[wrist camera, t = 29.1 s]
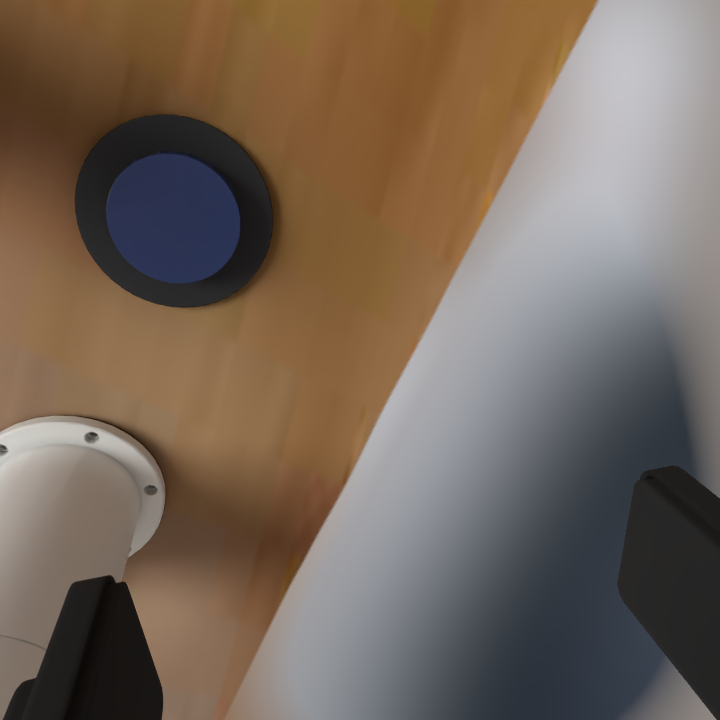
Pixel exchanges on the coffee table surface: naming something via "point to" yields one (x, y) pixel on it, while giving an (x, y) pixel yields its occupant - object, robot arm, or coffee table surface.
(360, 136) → the coffee table surface
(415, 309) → the coffee table surface
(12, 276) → the coffee table surface
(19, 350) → the coffee table surface
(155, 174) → the lid
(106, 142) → the coaster
